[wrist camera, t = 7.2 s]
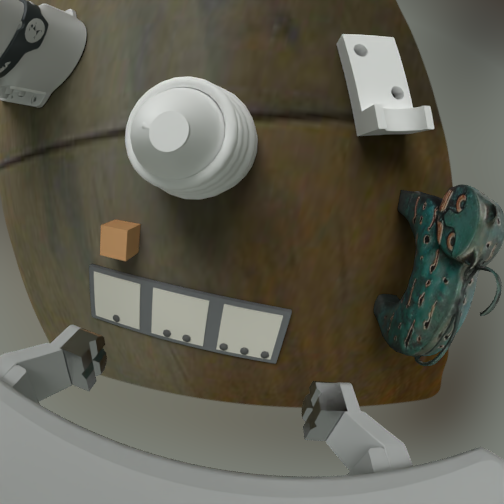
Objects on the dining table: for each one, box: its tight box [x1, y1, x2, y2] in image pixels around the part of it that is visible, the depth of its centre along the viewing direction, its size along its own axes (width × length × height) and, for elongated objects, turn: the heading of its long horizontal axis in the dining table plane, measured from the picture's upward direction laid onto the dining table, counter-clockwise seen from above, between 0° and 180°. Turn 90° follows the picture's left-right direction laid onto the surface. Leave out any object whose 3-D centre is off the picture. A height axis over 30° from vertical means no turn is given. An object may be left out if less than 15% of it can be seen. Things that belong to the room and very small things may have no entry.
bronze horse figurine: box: [374, 185, 504, 366], centre depth 25 cm, size 20×6×20 cm, turn 172°
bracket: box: [337, 34, 434, 136], centre depth 25 cm, size 13×7×8 cm, turn 9°
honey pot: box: [125, 76, 258, 200], centre depth 24 cm, size 13×13×18 cm
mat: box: [89, 264, 292, 363], centre depth 38 cm, size 30×9×1 cm, turn 79°
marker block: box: [100, 220, 141, 261], centre depth 34 cm, size 4×4×4 cm
